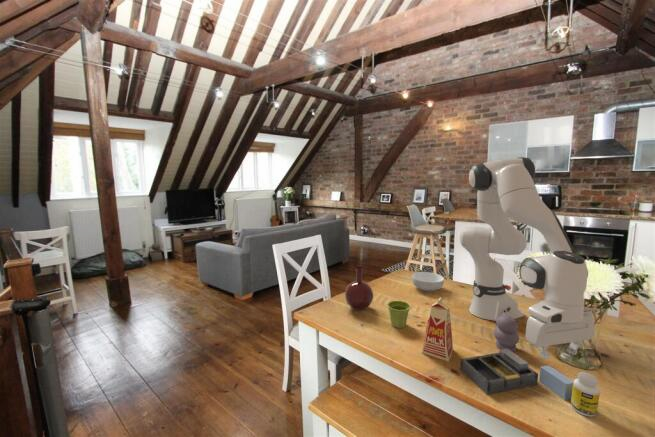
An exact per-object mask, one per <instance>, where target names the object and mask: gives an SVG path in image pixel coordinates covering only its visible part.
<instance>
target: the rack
mask: <svg viewBox="0 0 655 437" xmlns="http://www.w3.org/2000/svg"><path fill="white" fill-rule="evenodd" d="M459 367H460V368H459V369H460V370H461V371H462V373H464V374H465V375H466V376H467V377H468V378H469V379H470V380H471V381H472V382H473V383H474V384H476V385H477V387H479V389H480V390H482V392H484V393H485V394H486V395H490V394H496V393H501V392H507V391H511V390H516V389H521V388H522V389H523V388H528V387H532V386H536V385H538V383H539V373H538V372H536V371H535V370H534V369H533V368H530V367H529V362H528V361H526V360H525V359H523V358H522V357H520V356H519V355H517V354H516V352H512V351H510V350H509V349H501V350H500V349H499V352H495V353H489V354H488V353H487V354H484V355H477V356H471V357H470V356H469V357H464V358H460V365H459Z"/></svg>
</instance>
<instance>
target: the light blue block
mask: <svg viewBox="0 0 655 437" xmlns="http://www.w3.org/2000/svg"><path fill="white" fill-rule="evenodd" d="M539 368H540V369H539V376H538V383H540V384H542V385H543V386H545V387H546V388H547V389H548V390H549V391H551V392H552V393H554V394H555V395H557V396H558V397H560V398H561V399H562V400H563V401H567V400H571V398H572V390H573V383H574V380H572V379H570V378H569V377H567V376H566V375H564V374H563V373H561V372H560V371H558V370H557V369H555V368H554V367H552V366H551V365H550V364H548V365H544V366H543V365H542V366H540V367H539Z"/></svg>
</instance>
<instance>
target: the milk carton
mask: <svg viewBox="0 0 655 437" xmlns="http://www.w3.org/2000/svg"><path fill="white" fill-rule="evenodd" d="M450 312H451V311H450V307H449V306H448V305H447V304H446V303H445V302H444V301H443V299H442V297H441V296H440V297H439V299H437V301H436V302H434V303H432V304H431V306H430V310H429V313H428V317H427V320H426V330H425V336H424V341H423V344H422V350H421V353H422V354H424V355H428V356H429V357H434V358H436V359H440V360H443V361H446V362H449V361H450V358H451V356H452V355H453V354H452V353H453V350H454V345H453V344H454V342H453V332H452V330H453V328H452V319H451V313H450Z"/></svg>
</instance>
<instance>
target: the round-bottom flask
mask: <svg viewBox="0 0 655 437" xmlns="http://www.w3.org/2000/svg"><path fill="white" fill-rule="evenodd" d="M355 270H356V276H355V278H356V279H355V281H351V283H349V284H348V285H347V287H346V288H345V292H344V297H345V301H346V303H347V305H348V306H349V307H350V308H352V309H354V310H357V311H358V310H359V311H362V310H365V309H367V308H369V307H370V306H371V304H372V302H373V300H374V291H373V288H372V287H371V285H370V284H368V283H367V282H366V281H363V266H356V267H355Z"/></svg>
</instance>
